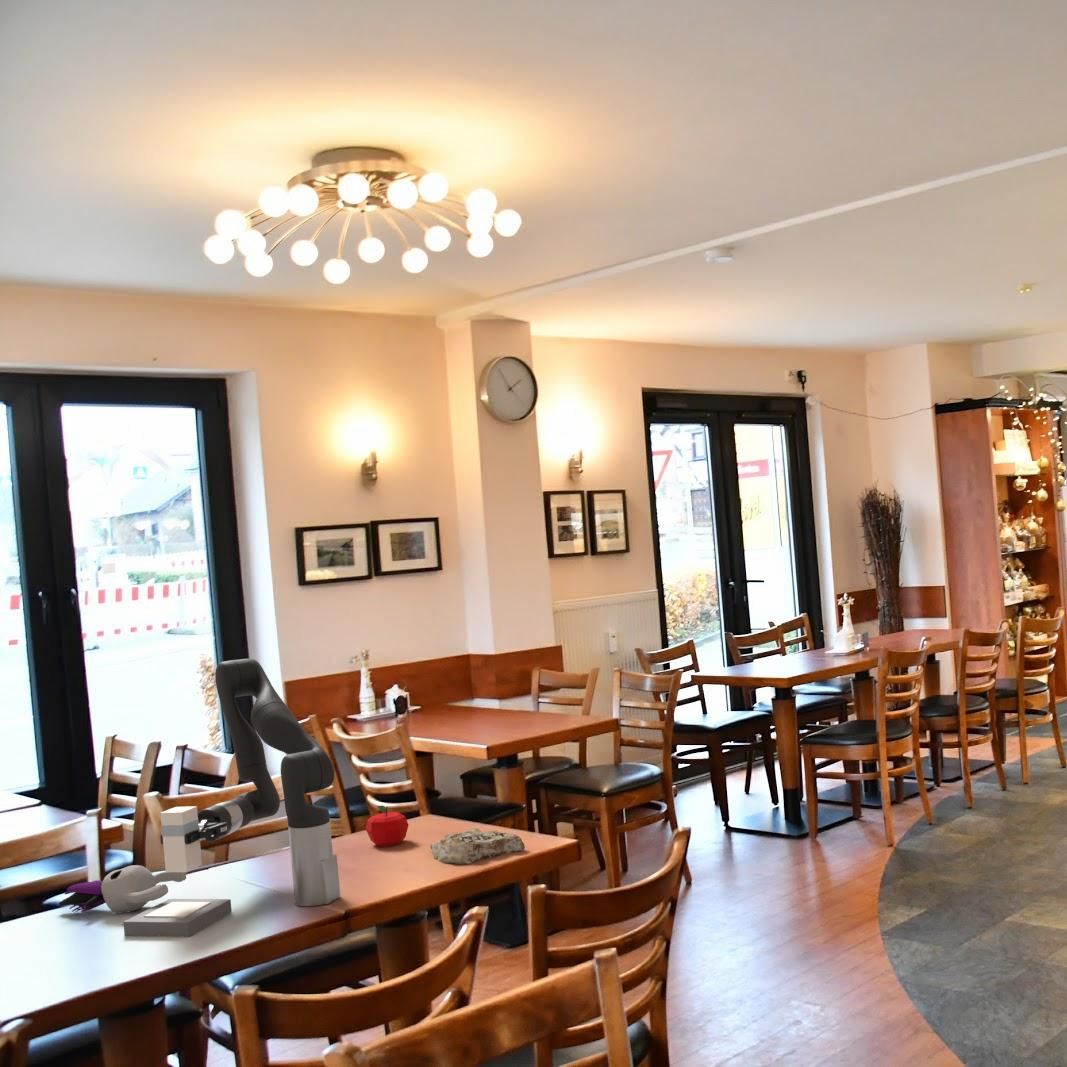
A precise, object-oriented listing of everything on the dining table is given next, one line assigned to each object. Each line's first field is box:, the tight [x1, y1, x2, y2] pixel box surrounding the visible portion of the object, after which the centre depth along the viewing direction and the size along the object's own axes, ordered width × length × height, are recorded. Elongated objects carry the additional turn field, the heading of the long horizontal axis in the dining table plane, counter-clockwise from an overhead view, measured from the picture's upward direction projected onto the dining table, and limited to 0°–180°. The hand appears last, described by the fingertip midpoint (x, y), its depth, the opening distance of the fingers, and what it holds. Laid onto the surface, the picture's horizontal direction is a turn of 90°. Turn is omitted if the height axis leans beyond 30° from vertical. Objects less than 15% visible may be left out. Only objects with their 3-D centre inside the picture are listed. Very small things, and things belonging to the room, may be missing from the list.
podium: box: [122, 898, 232, 938], centre depth 259 cm, size 16×16×3 cm
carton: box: [160, 805, 203, 873], centre depth 263 cm, size 6×6×13 cm
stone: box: [430, 828, 526, 865], centre depth 300 cm, size 19×6×25 cm
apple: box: [365, 805, 409, 848], centre depth 317 cm, size 11×11×10 cm
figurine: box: [58, 864, 187, 914], centre depth 275 cm, size 16×10×30 cm
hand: (174, 839), depth 261 cm, fingers closed on carton, 5 cm apart
